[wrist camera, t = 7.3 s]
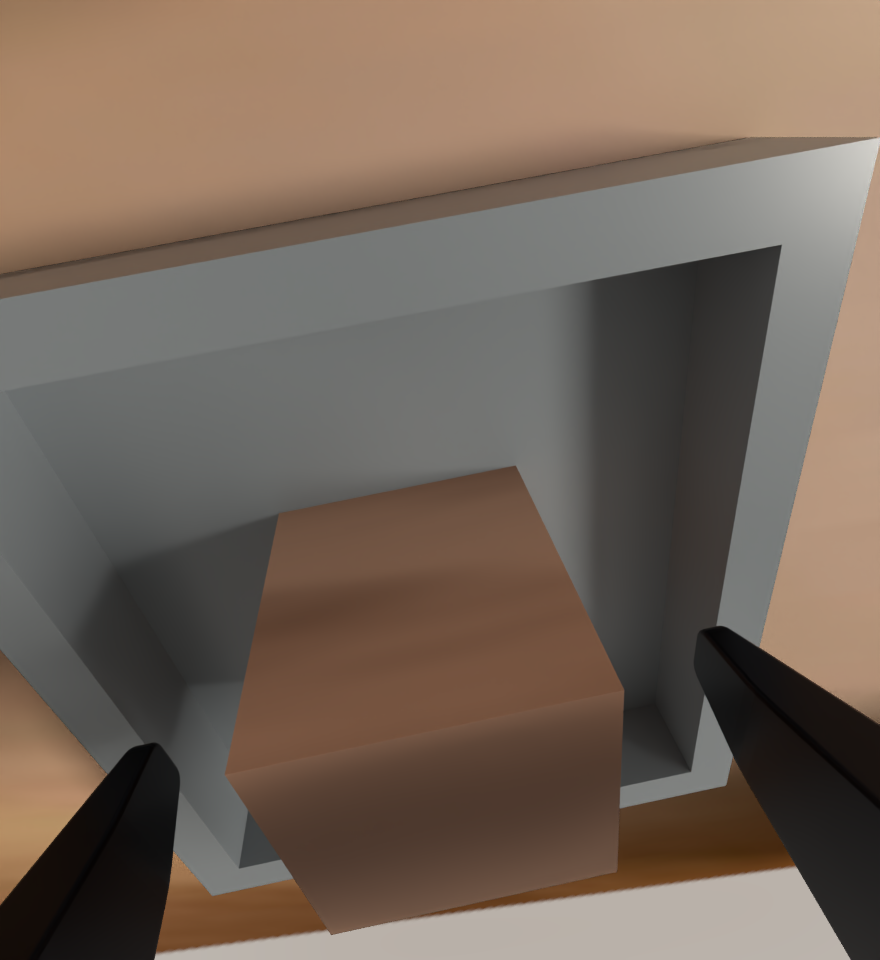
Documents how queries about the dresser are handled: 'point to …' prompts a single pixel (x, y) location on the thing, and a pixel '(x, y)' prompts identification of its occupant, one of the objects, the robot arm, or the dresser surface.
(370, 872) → the block
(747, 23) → the dresser surface
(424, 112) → the dresser surface
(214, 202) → the dresser surface
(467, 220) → the tray
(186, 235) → the dresser surface
